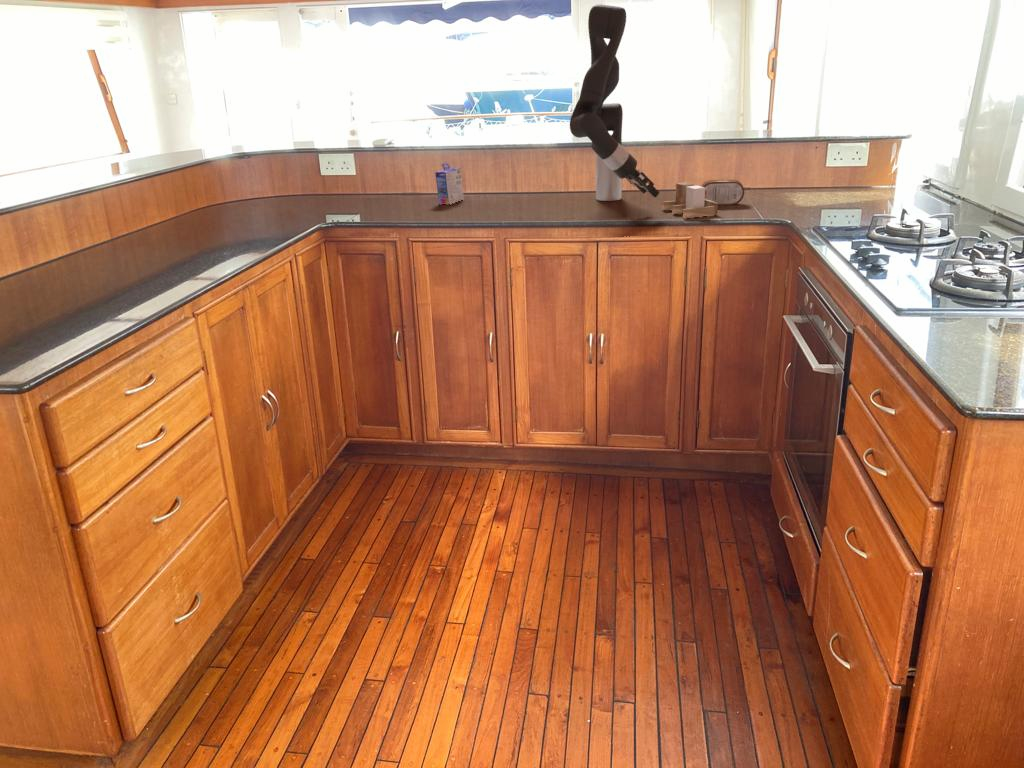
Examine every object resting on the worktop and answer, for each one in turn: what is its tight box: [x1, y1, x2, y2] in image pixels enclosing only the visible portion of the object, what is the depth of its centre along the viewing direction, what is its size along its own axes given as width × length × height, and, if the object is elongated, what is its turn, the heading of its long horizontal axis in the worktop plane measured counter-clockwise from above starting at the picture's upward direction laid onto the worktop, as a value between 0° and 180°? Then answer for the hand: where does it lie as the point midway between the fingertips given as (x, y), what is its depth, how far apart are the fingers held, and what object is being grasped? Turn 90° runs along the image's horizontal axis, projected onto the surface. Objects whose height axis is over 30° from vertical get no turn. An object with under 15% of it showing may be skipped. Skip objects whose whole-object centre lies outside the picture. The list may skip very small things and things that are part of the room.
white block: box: [686, 185, 705, 209], centre depth 259 cm, size 5×4×9 cm
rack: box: [661, 199, 719, 220], centre depth 263 cm, size 15×12×4 cm
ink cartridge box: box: [434, 162, 465, 206], centre depth 300 cm, size 10×6×14 cm, turn 148°
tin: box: [701, 179, 745, 206], centre depth 273 cm, size 15×3×8 cm, turn 84°
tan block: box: [675, 181, 695, 205], centre depth 266 cm, size 5×4×9 cm
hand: (651, 193), depth 262 cm, fingers open, 8 cm apart
